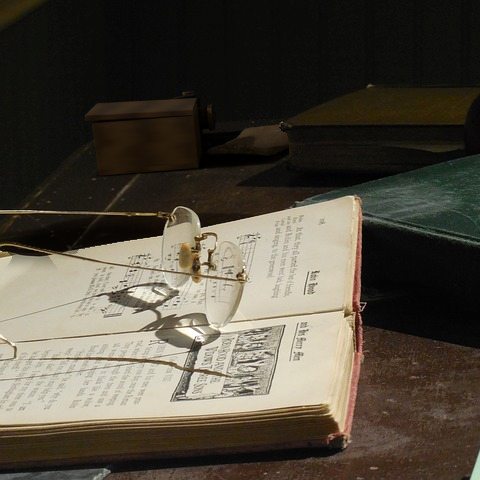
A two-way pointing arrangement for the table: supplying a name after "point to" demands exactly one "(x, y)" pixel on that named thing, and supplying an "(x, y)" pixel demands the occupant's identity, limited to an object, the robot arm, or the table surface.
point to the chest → (147, 144)
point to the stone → (255, 142)
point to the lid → (142, 109)
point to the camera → (202, 116)
